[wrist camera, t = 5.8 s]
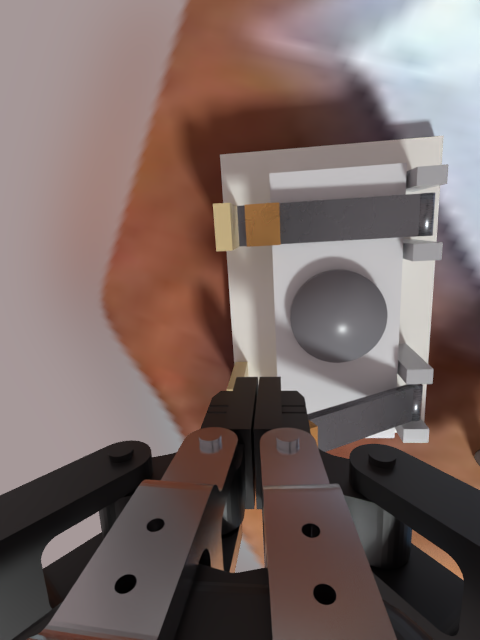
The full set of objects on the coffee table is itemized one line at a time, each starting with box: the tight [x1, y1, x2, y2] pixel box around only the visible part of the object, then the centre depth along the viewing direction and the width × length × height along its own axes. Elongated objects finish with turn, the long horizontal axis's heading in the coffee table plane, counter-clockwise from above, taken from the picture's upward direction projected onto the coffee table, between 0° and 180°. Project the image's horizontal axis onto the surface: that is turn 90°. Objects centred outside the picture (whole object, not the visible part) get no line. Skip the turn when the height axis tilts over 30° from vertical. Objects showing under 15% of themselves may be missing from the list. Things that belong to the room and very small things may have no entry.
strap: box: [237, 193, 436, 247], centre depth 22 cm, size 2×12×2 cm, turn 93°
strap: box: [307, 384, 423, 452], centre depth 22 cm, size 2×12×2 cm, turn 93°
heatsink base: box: [213, 136, 448, 443], centre depth 26 cm, size 22×15×6 cm
